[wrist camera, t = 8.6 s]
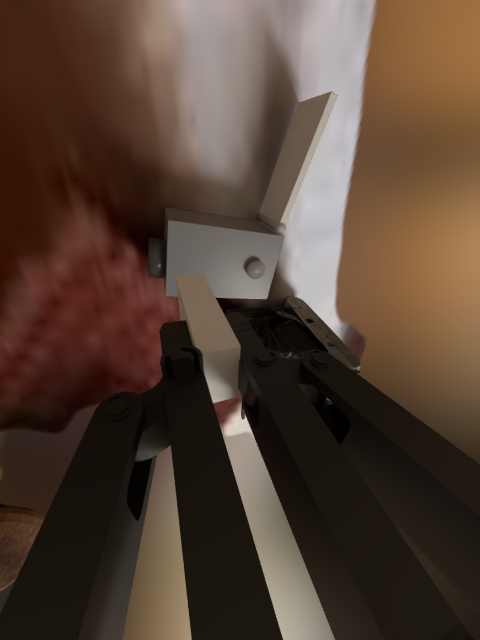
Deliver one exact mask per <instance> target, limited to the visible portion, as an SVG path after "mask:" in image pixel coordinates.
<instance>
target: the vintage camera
mask: <svg viewBox="0 0 480 640" xmlns="http://www.w3.org/2000/svg"><path fill="white" fill-rule="evenodd" d="M231 312H239V313H241V314H242V315H244V316H245V317H246V318H247V320H248V321H249V324H250V325H251V326H252V328H253V329H254V331H255V332H256V334H257V335H258V337H259V339H260V340H261V342H262V343H263V345H264V346H265V348H268V349H271V350H273V351H275V352H276V353H277V354H278V355H279V357H281V358H287V359H301V357H302V354H303V353H304V352H305V351H307V350H311V349H317V350H322V351H325V352H327V353H329V354H331V355H332V356H334V357H335V358H336V359H338V360H339V361H340V362H342V363H343V364H344V365H346V366H347V367H349V368H350V369H351V370H353V371H354V372H355V373H357V374H358V375H359V374H360V372H359V371H358V370H359V368H360V366H361V363H360V360H359V359H358V358H357V357H356V356H355V355H354V353H353V352H352V351H351V350H350V349H349V348H348V347H347V346H346V345H345V344H344V343H343V342H342V341H341V340H340V338H339V337H338V336H337V335H336V334H335V333H334V332H333V331H332V330H331V329H330V328H329V327H328V326H327V325H326V324H325V323H324V322H323V320H322V319H321V318H320V317H319V316H318V315H317V314H316V313H315V312H314V311H313V310H312V309H311V308H310V307H309V306H308V305H307V304H306V303H305V302H304V301H303V300H302V299H300V298H297V297H288V298H287V299H286V302H285V306H284V307H277V308H271V307H266V308H250V309H233V310H227V313H231ZM326 399H327V400H329V399H328V398H326ZM329 401H330V400H329ZM330 402H331V401H330Z"/></svg>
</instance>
